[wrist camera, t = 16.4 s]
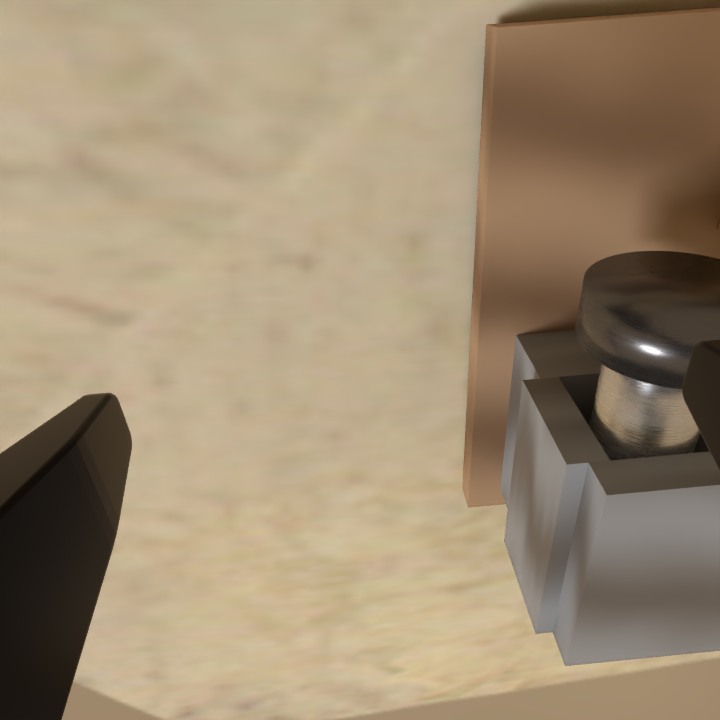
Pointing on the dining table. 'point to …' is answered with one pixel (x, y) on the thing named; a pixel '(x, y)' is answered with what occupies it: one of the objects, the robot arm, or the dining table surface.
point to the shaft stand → (559, 315)
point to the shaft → (646, 346)
